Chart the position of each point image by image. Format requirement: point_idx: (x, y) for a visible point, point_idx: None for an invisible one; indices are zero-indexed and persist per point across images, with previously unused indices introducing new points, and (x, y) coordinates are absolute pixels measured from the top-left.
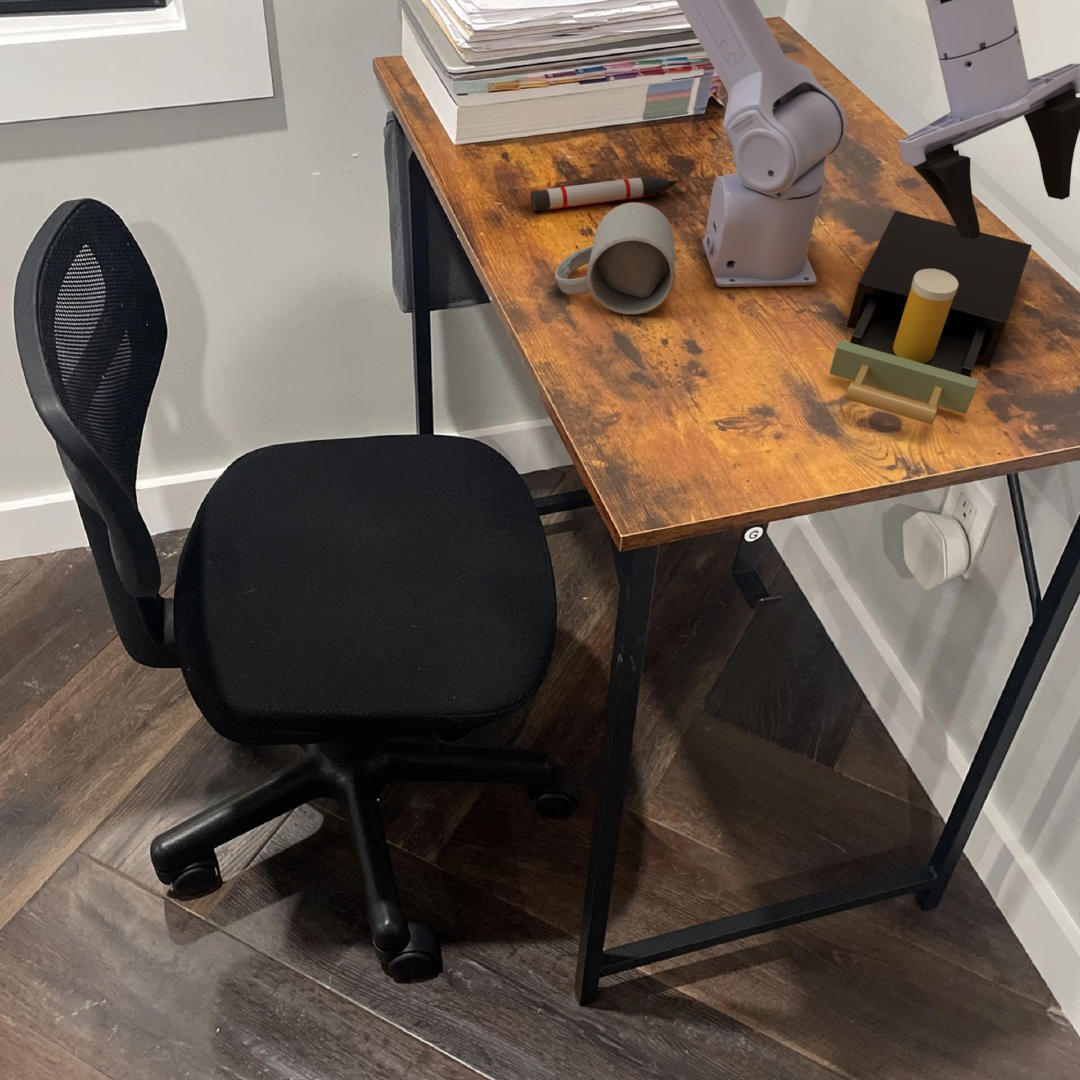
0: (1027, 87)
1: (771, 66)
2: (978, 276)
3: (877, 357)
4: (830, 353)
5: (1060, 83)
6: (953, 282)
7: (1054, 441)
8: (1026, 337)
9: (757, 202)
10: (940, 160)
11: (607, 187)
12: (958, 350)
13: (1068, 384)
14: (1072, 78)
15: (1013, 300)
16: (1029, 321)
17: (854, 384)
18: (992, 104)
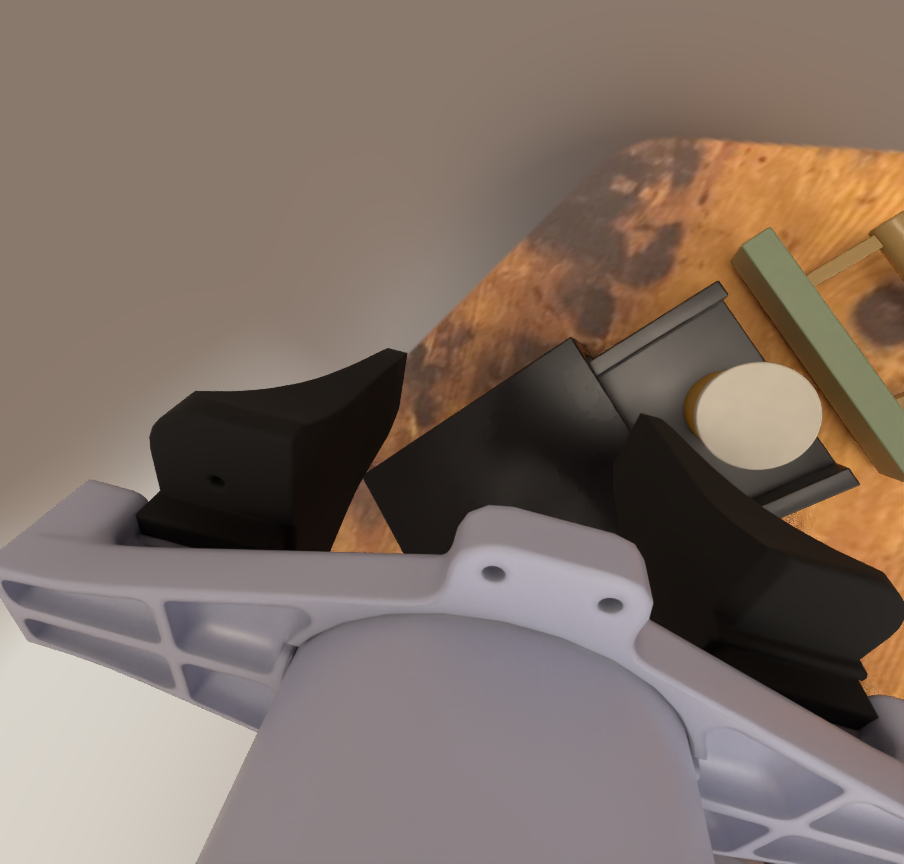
0: (341, 655)
1: None
2: (502, 463)
3: (886, 397)
4: (809, 515)
5: (165, 560)
6: (723, 388)
7: (645, 152)
8: (475, 371)
9: None
10: (809, 650)
11: None
12: (643, 368)
13: (511, 257)
14: (97, 550)
15: (506, 380)
16: (443, 397)
17: None
18: (628, 712)
